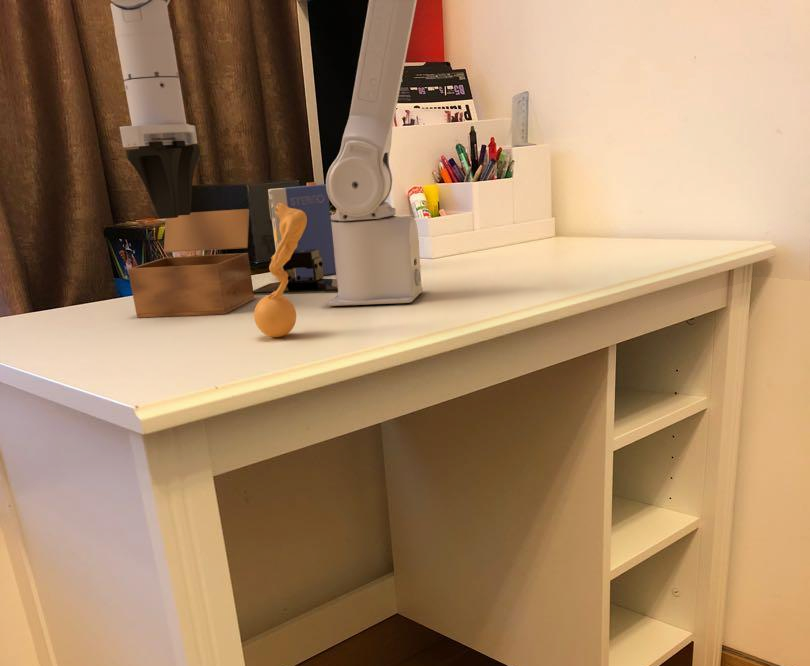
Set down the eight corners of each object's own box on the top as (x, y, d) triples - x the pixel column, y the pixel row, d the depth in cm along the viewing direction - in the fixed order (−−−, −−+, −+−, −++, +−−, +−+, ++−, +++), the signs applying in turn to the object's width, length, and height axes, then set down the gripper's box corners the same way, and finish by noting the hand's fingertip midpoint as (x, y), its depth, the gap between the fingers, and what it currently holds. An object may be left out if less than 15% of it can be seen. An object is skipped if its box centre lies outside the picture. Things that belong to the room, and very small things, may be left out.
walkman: (330, 271, 125) (321, 181, 120) (336, 273, 123) (327, 181, 118) (277, 278, 123) (265, 186, 118) (281, 280, 120) (270, 187, 115)
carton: (137, 317, 101) (127, 269, 98) (172, 302, 109) (164, 257, 107) (225, 314, 98) (217, 264, 96) (254, 298, 107) (248, 252, 105)
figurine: (266, 329, 88) (249, 202, 83) (325, 325, 88) (311, 198, 83) (248, 347, 81) (228, 209, 76) (313, 343, 80) (297, 204, 75)
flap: (165, 214, 107) (167, 215, 107) (163, 251, 107) (164, 252, 107) (248, 208, 105) (249, 209, 105) (246, 247, 105) (247, 248, 105)
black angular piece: (359, 283, 114) (356, 245, 112) (343, 293, 107) (339, 253, 105) (270, 285, 117) (266, 249, 115) (249, 295, 110) (244, 256, 108)
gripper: (147, 86, 99) (169, 213, 105) (82, 80, 86) (110, 225, 92) (205, 80, 98) (224, 209, 104) (147, 73, 85) (173, 221, 91)
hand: (174, 216), depth 98 cm, fingers open, 3 cm apart
